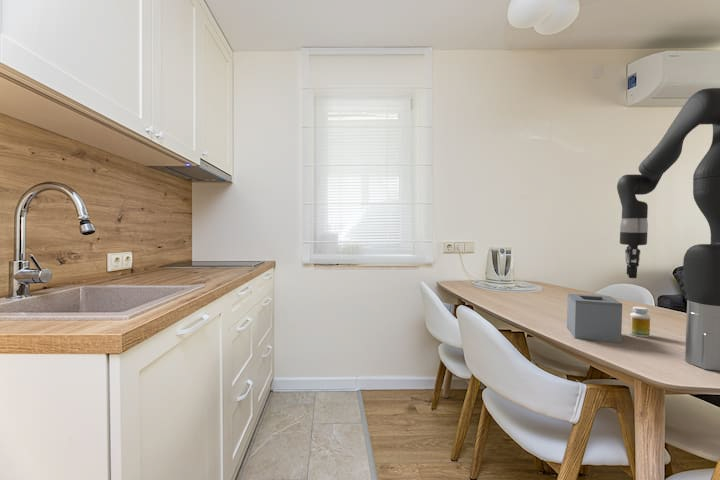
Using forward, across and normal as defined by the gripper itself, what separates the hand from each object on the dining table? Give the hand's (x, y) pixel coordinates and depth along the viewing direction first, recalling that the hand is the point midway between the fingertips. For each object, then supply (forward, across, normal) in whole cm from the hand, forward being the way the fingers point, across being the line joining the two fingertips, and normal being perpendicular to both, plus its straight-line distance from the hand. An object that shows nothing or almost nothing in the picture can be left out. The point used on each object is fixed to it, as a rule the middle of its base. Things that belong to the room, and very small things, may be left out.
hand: (631, 276), depth 119 cm
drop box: (+20, -11, +11) cm, 26 cm away
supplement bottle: (+21, -2, -3) cm, 21 cm away
